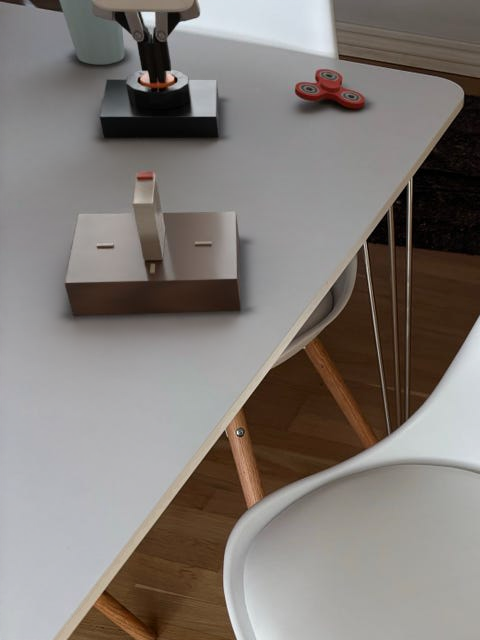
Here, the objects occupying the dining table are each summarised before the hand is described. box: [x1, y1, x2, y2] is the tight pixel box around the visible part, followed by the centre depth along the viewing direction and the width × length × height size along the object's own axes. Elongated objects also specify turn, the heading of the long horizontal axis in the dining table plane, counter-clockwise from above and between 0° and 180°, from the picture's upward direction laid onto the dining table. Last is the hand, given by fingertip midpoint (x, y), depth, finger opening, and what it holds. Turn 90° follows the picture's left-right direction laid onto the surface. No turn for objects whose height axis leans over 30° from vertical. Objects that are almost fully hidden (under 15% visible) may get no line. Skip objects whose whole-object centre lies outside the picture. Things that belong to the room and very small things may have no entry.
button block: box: [99, 69, 220, 139], centre depth 111 cm, size 12×10×4 cm
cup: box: [58, 0, 125, 66], centre depth 119 cm, size 8×8×10 cm
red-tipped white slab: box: [132, 171, 165, 260], centre depth 87 cm, size 6×2×5 cm, turn 9°
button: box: [140, 73, 175, 88], centre depth 110 cm, size 4×4×2 cm
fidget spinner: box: [294, 68, 366, 110], centre depth 118 cm, size 8×7×1 cm
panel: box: [64, 211, 242, 316], centre depth 90 cm, size 14×12×3 cm
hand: (158, 77), depth 110 cm, fingers closed
